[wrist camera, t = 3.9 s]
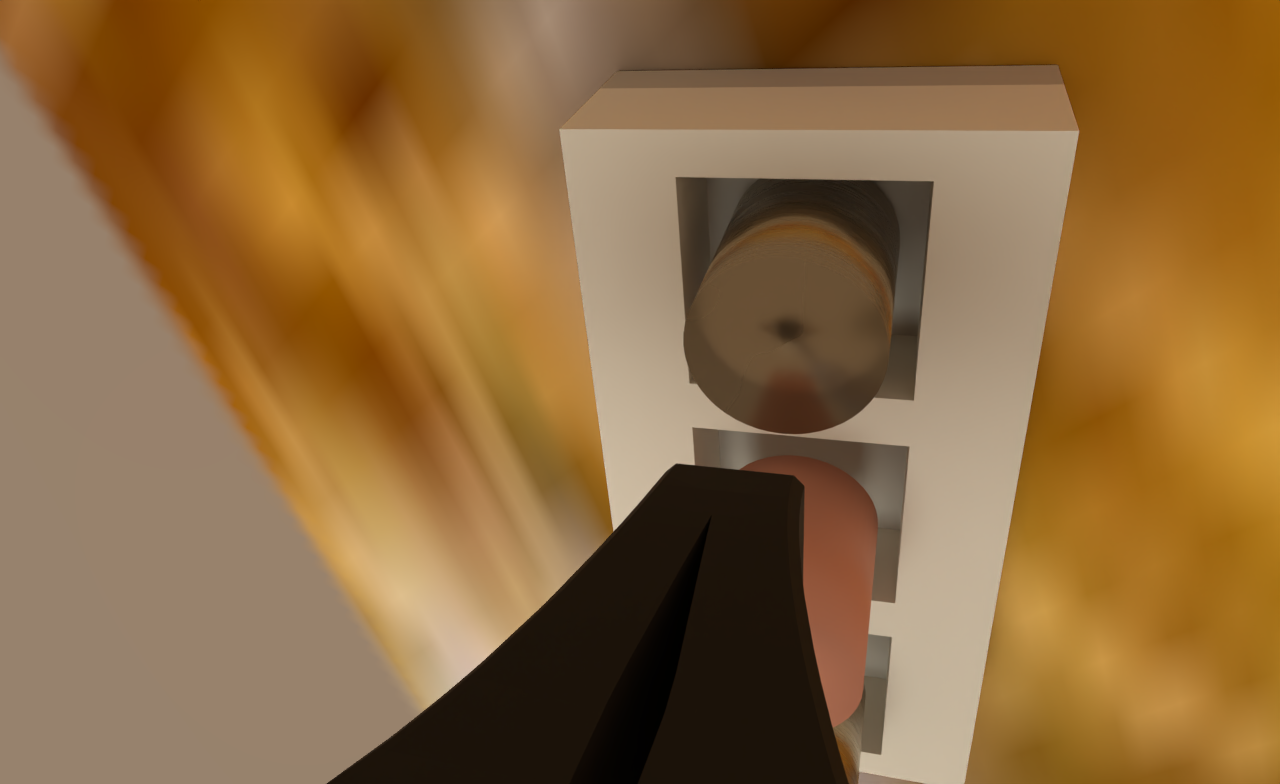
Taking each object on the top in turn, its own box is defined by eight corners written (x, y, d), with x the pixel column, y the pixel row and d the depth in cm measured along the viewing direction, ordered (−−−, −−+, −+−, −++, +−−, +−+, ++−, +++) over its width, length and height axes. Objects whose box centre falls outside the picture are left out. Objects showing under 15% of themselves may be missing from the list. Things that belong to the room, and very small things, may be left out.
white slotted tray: (1058, 64, 14) (1079, 130, 12) (961, 676, 22) (963, 790, 20) (616, 70, 16) (559, 129, 14) (671, 632, 24) (640, 732, 21)
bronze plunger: (906, 161, 14) (895, 262, 12) (894, 319, 16) (882, 443, 13) (726, 159, 15) (677, 253, 12) (732, 311, 17) (689, 425, 14)
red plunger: (882, 463, 16) (867, 621, 13) (873, 584, 17) (858, 749, 14) (716, 448, 16) (668, 593, 13) (721, 565, 18) (679, 718, 15)
